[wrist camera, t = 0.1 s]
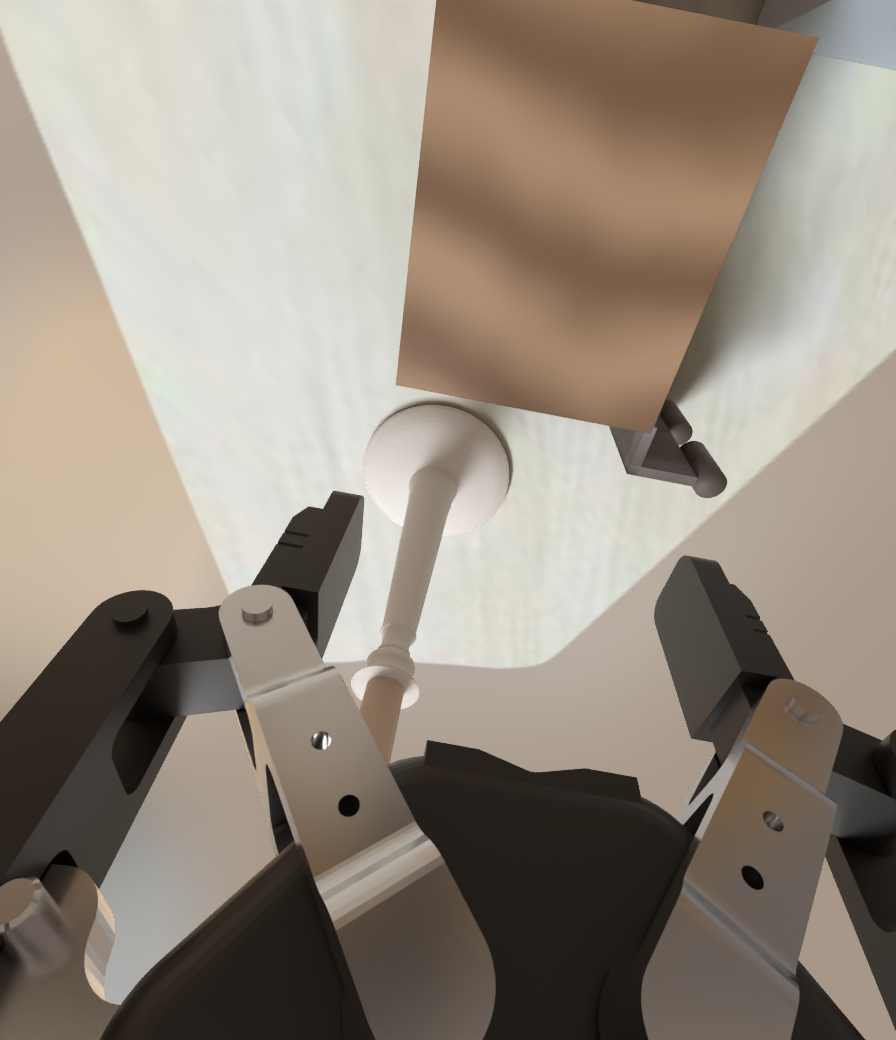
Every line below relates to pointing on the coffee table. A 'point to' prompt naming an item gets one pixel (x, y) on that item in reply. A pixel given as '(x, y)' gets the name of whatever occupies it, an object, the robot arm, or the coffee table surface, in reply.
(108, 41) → the coffee table surface
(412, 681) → the candlestick
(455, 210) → the cabinet
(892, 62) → the door
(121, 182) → the coffee table surface
